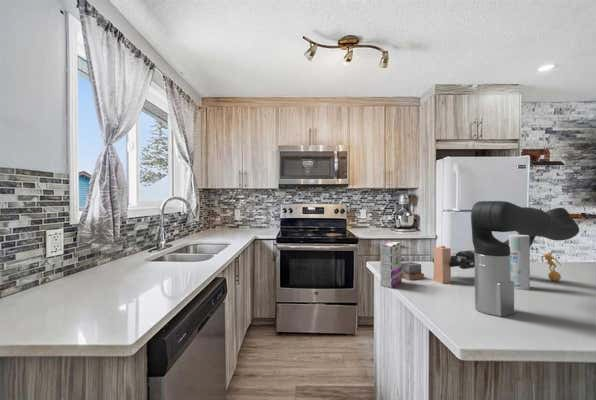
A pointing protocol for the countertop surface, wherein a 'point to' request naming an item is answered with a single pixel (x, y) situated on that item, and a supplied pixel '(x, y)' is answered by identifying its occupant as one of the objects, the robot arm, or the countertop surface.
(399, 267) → the candy bar box
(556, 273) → the figurine
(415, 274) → the tower stand
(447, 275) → the terracotta brick
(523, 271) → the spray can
